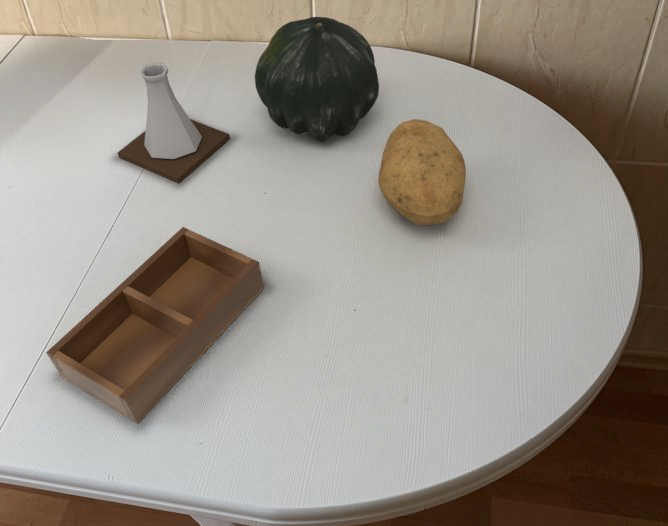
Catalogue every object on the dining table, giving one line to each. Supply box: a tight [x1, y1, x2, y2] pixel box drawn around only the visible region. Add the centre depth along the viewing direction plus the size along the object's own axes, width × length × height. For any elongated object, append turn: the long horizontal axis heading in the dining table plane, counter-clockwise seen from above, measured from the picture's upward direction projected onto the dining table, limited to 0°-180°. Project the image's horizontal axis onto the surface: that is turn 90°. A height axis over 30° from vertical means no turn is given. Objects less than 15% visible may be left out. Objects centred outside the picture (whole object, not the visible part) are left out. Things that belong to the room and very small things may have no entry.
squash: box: [254, 16, 380, 143], centre depth 86 cm, size 14×15×15 cm
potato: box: [377, 118, 467, 226], centre depth 77 cm, size 10×14×8 cm
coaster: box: [117, 118, 231, 184], centre depth 88 cm, size 10×10×1 cm
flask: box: [139, 62, 202, 159], centre depth 84 cm, size 7×7×10 cm
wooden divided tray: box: [46, 226, 265, 425], centre depth 69 cm, size 10×19×4 cm, turn 147°
